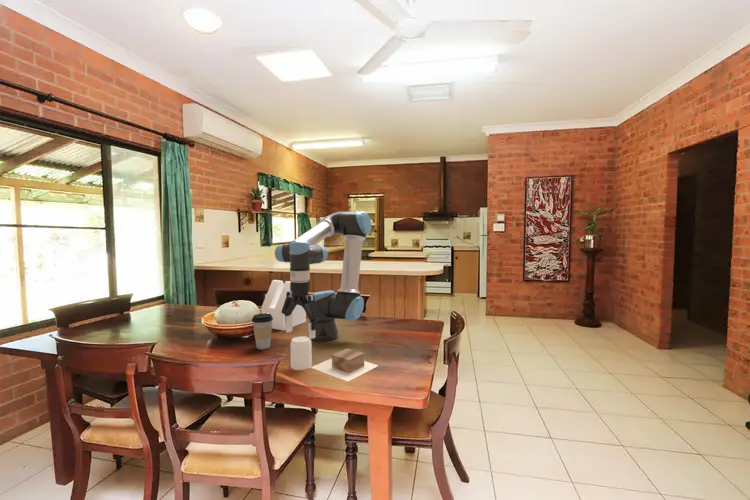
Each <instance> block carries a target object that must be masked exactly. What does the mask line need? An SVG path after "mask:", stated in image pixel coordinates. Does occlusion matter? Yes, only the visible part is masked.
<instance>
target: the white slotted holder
mask: <svg viewBox="0 0 750 500" xmlns="http://www.w3.org/2000/svg"><path fill="white" fill-rule="evenodd" d="M291 282H292V281H291V280H290V281H289V280H288V281H287V280H285V282H284V281H283V280H279V279H273V280H271V282H270V283H271V284H270V285H269V288H268V290H267V293H266V295H265V297H264V300H263V303H262V305H261V314H262V313H269V314H271V316H272V317H273V320H272V330H280V331H286V322H285V315H284V313H283V314H282V309H283V305H284V302H285V299H286V293H287V292H290V283H291ZM285 310H286V309H285ZM291 315H292V319H293V328H294V327H296V326H298V325H301V324H304V323H306V322H307V314H306V312H305V310H304V308H303V307H302V306H300V305H296V307H295V308H294V310H293V312H292V314H291Z"/></svg>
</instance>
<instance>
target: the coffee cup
mask: <svg viewBox="0 0 750 500" xmlns="http://www.w3.org/2000/svg"><path fill="white" fill-rule="evenodd" d="M272 320H273V317H272V316H271V314H267V313H263V314H262V313H257V314H254V315H253V317H252V318H251V322H252V325H253V335H254V339H255V345H256V346H255V347H256V349H257V350H267V349H270V348H271V347H270V346H271V338H272V330H273V329H272Z"/></svg>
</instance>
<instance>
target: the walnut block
mask: <svg viewBox="0 0 750 500" xmlns="http://www.w3.org/2000/svg"><path fill="white" fill-rule="evenodd" d="M331 358H332V367H333V368H336V369H339V370H342V371H344V372H347V373H350V372H352V371H354V370H356V369H358V368H360V367H362V366H364V361H365V352H361V351H358V350H354V349H351V348H348V347H347V348H345V349H342V350H340V351H338V352H335V353H333V354H332V353H331Z"/></svg>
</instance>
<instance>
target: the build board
mask: <svg viewBox="0 0 750 500" xmlns="http://www.w3.org/2000/svg"><path fill="white" fill-rule="evenodd" d="M377 367H379V365H378V364H376V363H371V362H368V361H366V360H364V366H362V367H360V368H358V369H356V370H354V371H352V372H350V373H347V372H344V371H342V370H339V369H336V368H333V367H332V357H331V358H329V359H327V360H323V362H320V363H318V364H314V365H313V366H311V367H310V368H309V369H313V370H316V371H318V372H320V373H324V374H326V375H330V376H332V377H334V378H337V379H339V380H342V381H345V382H350V381H352V380H354V379H356V378H357V377H360V376H361V375H362V376H363V374H366V373H367V372H369V371H371V370H373V369H375V368H377Z"/></svg>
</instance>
